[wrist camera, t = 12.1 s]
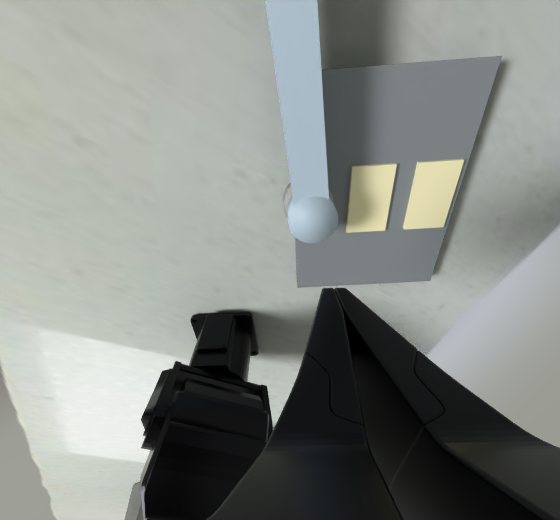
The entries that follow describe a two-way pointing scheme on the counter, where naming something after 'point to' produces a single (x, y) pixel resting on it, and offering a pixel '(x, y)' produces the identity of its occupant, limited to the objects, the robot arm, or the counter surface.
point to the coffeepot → (135, 504)
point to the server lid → (394, 167)
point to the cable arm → (302, 116)
